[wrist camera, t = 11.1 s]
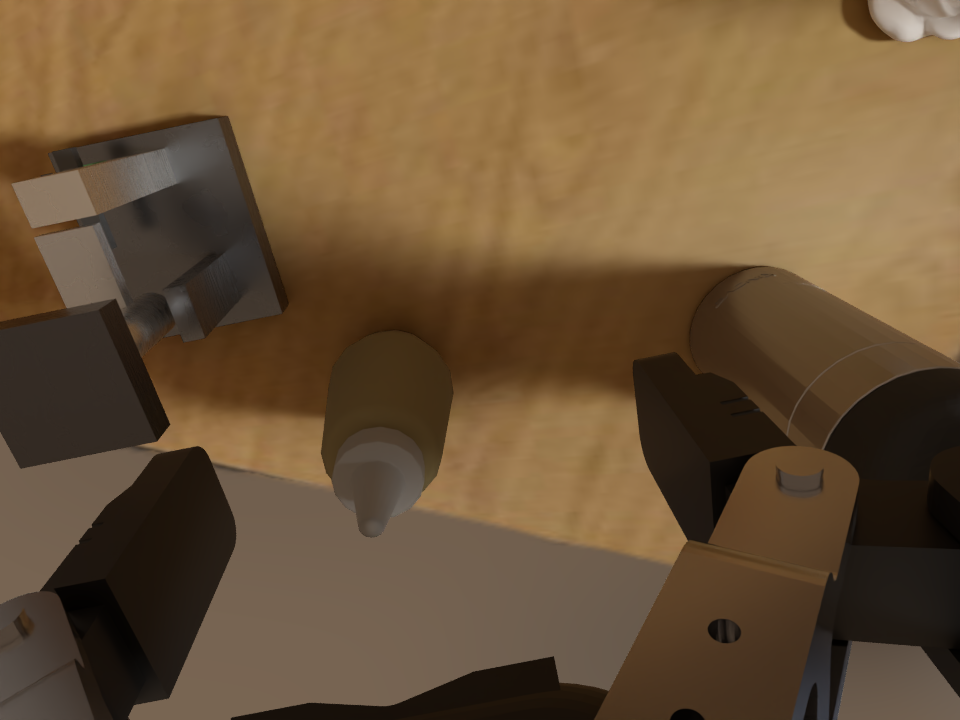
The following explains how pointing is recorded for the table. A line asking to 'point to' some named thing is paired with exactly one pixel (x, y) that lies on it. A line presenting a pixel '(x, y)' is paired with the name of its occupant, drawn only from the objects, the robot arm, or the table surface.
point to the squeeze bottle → (385, 425)
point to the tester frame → (172, 221)
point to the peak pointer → (72, 160)
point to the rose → (916, 18)
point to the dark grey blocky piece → (81, 359)
